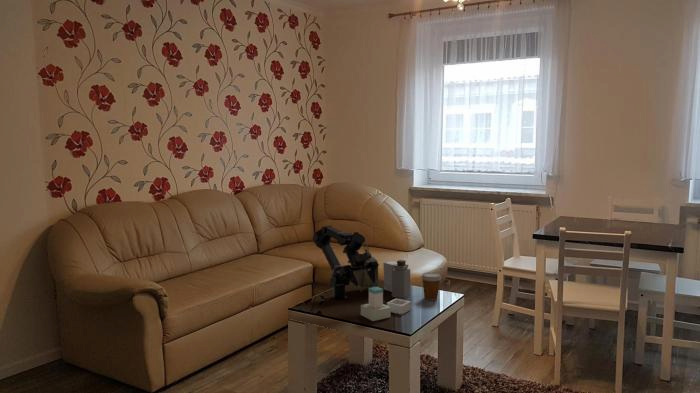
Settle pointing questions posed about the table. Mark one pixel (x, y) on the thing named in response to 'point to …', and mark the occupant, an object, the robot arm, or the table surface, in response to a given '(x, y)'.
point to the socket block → (375, 312)
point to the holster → (399, 306)
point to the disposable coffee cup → (431, 285)
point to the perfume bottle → (401, 280)
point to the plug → (375, 297)
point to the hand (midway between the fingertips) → (366, 284)
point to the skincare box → (388, 274)
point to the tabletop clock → (366, 275)
